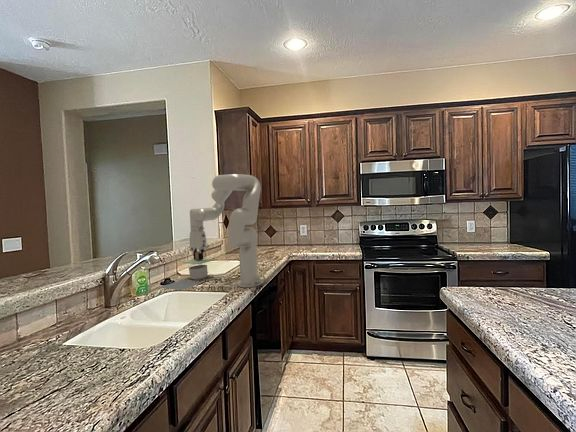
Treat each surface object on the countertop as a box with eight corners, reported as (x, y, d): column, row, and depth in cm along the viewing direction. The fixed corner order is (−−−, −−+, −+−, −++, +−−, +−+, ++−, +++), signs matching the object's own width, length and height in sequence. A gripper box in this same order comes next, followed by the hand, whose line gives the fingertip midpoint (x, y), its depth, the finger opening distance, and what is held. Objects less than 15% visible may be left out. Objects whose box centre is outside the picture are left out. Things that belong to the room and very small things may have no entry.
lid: (214, 260, 204) (213, 250, 203) (199, 264, 192) (198, 254, 192) (198, 259, 210) (197, 250, 209) (182, 263, 198) (182, 253, 198)
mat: (203, 283, 189) (203, 282, 189) (180, 291, 174) (180, 290, 174) (181, 281, 197) (181, 280, 197) (158, 288, 182) (158, 287, 182)
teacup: (203, 281, 194) (202, 268, 193) (185, 281, 196) (185, 268, 195) (213, 276, 207) (212, 263, 207) (197, 276, 209) (196, 263, 209)
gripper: (211, 228, 199) (213, 258, 200) (191, 228, 207) (192, 257, 208) (203, 230, 193) (204, 261, 194) (182, 229, 201) (183, 259, 202)
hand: (198, 258), depth 201 cm, fingers closed on lid, 3 cm apart
